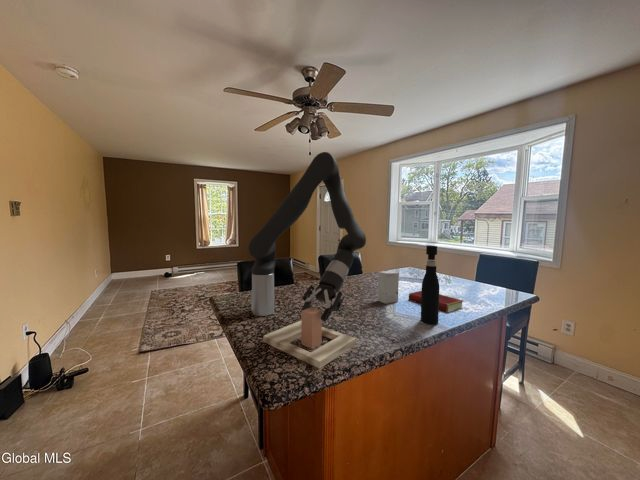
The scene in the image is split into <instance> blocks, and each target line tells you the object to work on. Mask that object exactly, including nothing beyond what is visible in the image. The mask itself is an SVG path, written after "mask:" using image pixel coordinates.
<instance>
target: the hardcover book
mask: <svg viewBox="0 0 640 480" xmlns="http://www.w3.org/2000/svg"><path fill="white" fill-rule="evenodd" d="M421 294H422V290H419V291H412V292H409V293H408V301H411V302H414V303H417V304H420V305H421ZM463 302H464V300H463V299H459V298H455V297H451V296H448V295H443V294H440V293H439V311H442V312H444V313H447V314H448V313H450V312H452V311H453V312H454V311H456V310H460V309H462V308H463Z"/></svg>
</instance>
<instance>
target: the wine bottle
mask: <svg viewBox="0 0 640 480" xmlns="http://www.w3.org/2000/svg"><path fill="white" fill-rule="evenodd" d="M425 251H426V253H425V254H426V255H427V260H426V265H425V274H424V275H423V278H422V281H421V291H422V294H421V304H420V322H421V323H422V322H423V324H425V325H429V324H430V325H429V326H434V325H438V324H439V315H440V314H439V311H440V310H439V294H440V282H439V278H438V275H437V263H436V255H438V246H437V245H426V250H425Z"/></svg>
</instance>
